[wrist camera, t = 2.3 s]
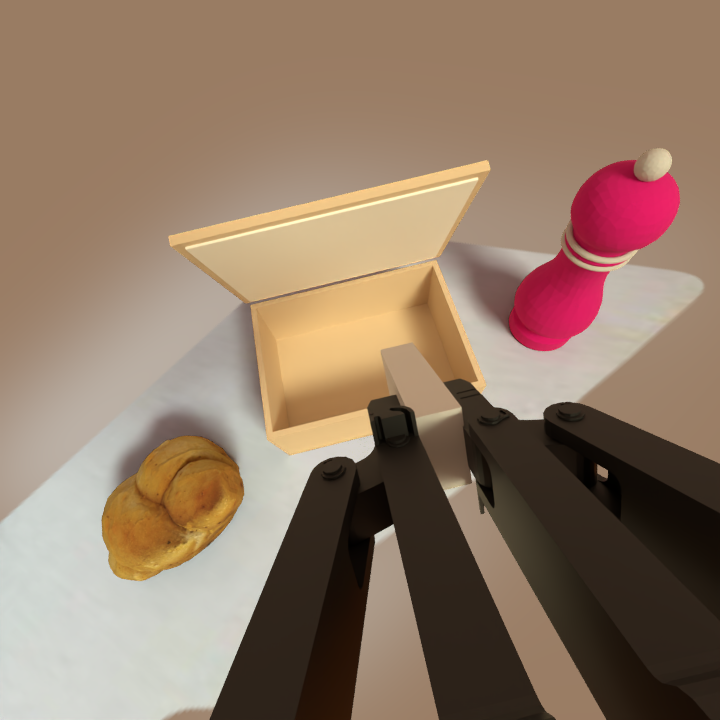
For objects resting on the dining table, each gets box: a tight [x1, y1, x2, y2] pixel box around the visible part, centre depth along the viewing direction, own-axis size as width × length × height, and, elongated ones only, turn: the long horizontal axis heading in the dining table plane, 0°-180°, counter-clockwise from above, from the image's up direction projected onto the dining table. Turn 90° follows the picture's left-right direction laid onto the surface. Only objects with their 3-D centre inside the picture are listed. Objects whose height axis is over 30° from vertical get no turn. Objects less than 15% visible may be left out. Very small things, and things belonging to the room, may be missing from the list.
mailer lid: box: [168, 160, 491, 303], centre depth 28 cm, size 19×14×1 cm
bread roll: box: [102, 436, 244, 581], centre depth 31 cm, size 13×10×8 cm
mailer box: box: [250, 260, 486, 455], centre depth 36 cm, size 18×13×7 cm
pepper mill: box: [509, 148, 680, 351], centre depth 30 cm, size 7×7×20 cm
